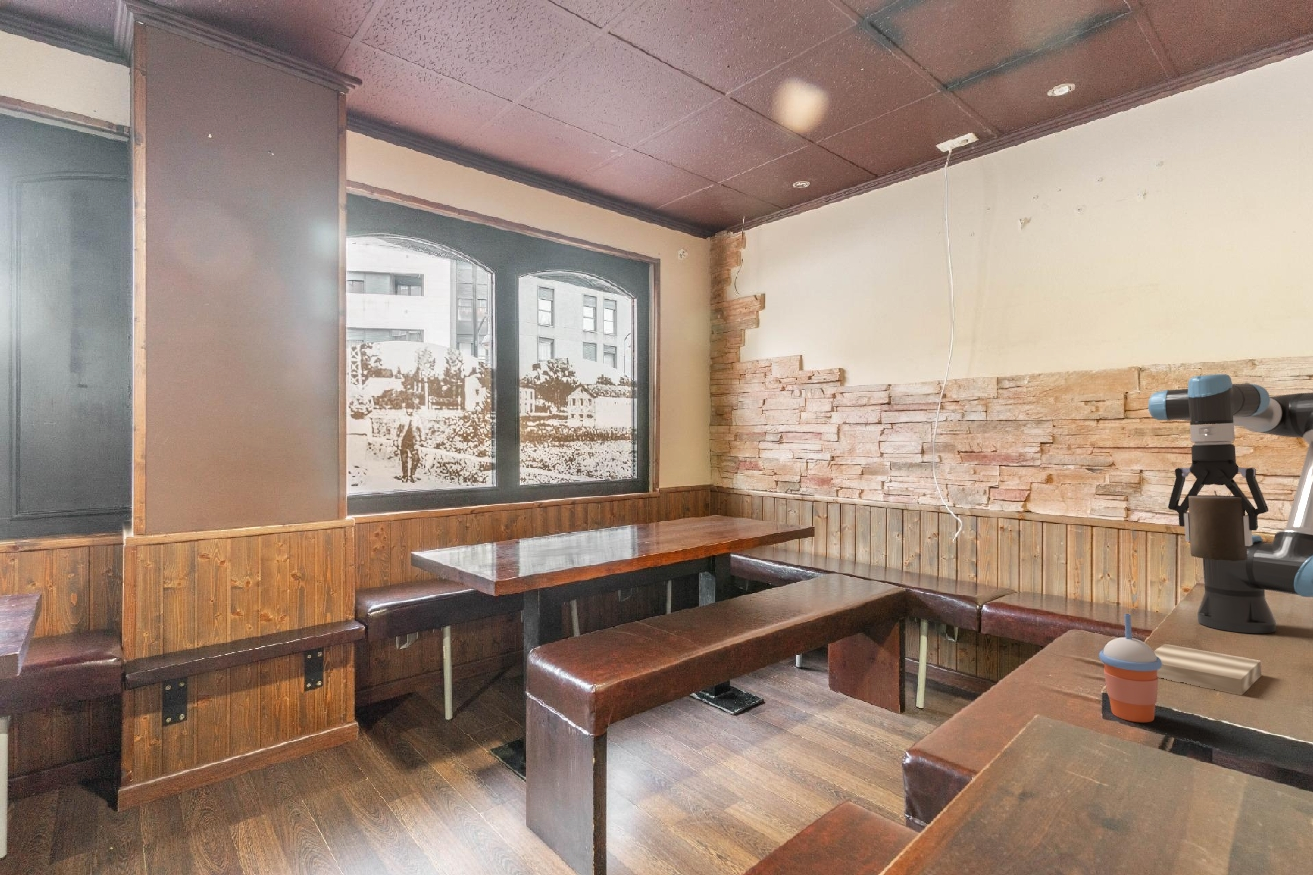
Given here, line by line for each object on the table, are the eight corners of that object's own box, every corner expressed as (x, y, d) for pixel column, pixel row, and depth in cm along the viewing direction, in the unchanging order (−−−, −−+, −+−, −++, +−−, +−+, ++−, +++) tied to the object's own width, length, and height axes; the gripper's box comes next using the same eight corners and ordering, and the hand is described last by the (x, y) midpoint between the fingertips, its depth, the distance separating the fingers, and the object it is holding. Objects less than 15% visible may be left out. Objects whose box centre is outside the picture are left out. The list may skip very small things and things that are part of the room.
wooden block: (1165, 657, 146) (1164, 643, 146) (1261, 675, 133) (1260, 660, 133) (1140, 674, 136) (1140, 659, 136) (1241, 695, 123) (1240, 679, 123)
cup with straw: (1167, 713, 116) (1162, 612, 117) (1161, 731, 110) (1156, 623, 110) (1106, 701, 123) (1101, 605, 123) (1097, 717, 116) (1092, 616, 116)
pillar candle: (1232, 562, 139) (1229, 492, 140) (1180, 556, 148) (1178, 490, 149) (1257, 558, 143) (1254, 490, 144) (1205, 552, 152) (1202, 488, 153)
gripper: (1147, 445, 153) (1152, 540, 153) (1276, 442, 135) (1282, 550, 135) (1157, 444, 158) (1162, 537, 157) (1284, 441, 140) (1290, 545, 139)
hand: (1218, 543), depth 146 cm, fingers closed on pillar candle, 10 cm apart
